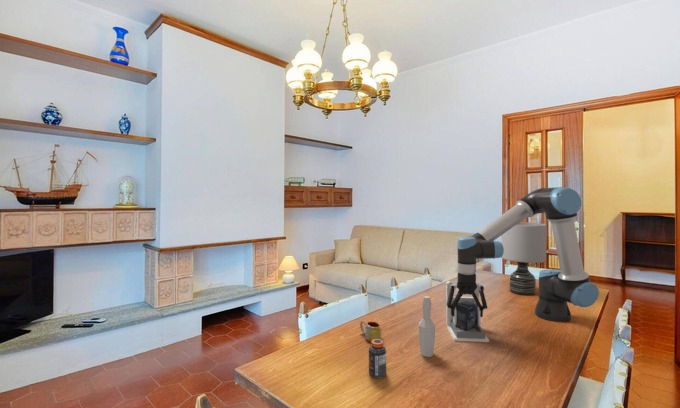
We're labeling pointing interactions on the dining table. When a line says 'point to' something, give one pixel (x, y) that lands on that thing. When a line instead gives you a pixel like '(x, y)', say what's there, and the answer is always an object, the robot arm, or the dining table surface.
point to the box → (466, 315)
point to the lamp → (524, 254)
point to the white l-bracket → (459, 334)
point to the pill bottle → (377, 359)
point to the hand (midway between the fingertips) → (466, 323)
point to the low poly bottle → (426, 329)
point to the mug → (371, 330)
